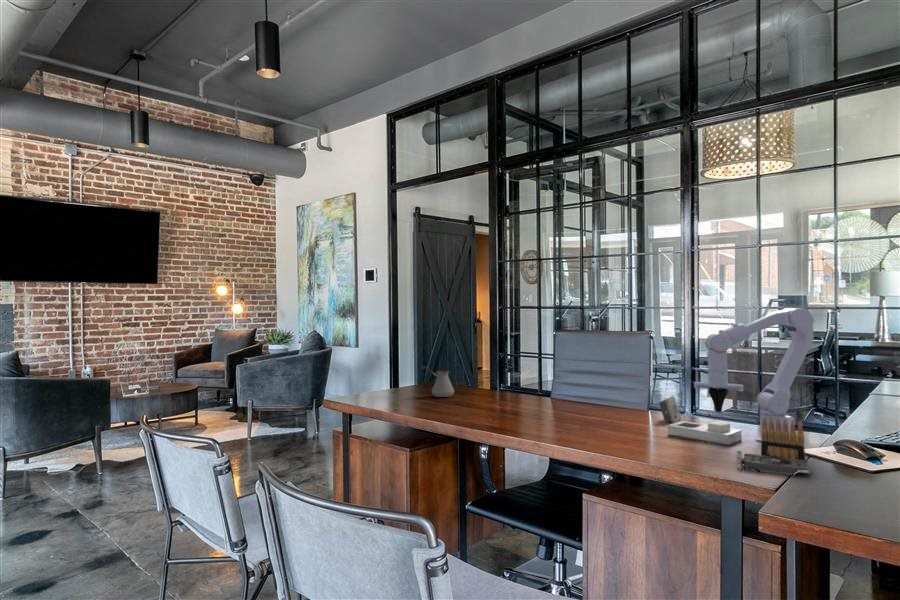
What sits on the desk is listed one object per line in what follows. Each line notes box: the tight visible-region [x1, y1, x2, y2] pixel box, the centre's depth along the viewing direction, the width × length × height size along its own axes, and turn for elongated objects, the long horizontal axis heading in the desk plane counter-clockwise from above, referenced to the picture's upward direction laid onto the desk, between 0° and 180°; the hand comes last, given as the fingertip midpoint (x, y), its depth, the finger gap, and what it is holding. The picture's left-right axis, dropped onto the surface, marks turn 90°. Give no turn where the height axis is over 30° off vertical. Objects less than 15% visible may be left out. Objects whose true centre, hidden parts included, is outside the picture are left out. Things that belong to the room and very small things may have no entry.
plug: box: [707, 421, 731, 433], centre depth 177 cm, size 4×5×5 cm
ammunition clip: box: [760, 417, 806, 460], centre depth 154 cm, size 11×2×12 cm, turn 50°
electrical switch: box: [658, 395, 682, 424], centre depth 209 cm, size 9×5×9 cm, turn 141°
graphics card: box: [736, 450, 810, 476], centre depth 145 cm, size 17×4×12 cm
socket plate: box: [667, 420, 743, 447], centre depth 181 cm, size 20×10×4 cm, turn 40°
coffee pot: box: [421, 365, 455, 398], centre depth 276 cm, size 21×12×15 cm, turn 43°
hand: (718, 411), depth 178 cm, fingers closed
